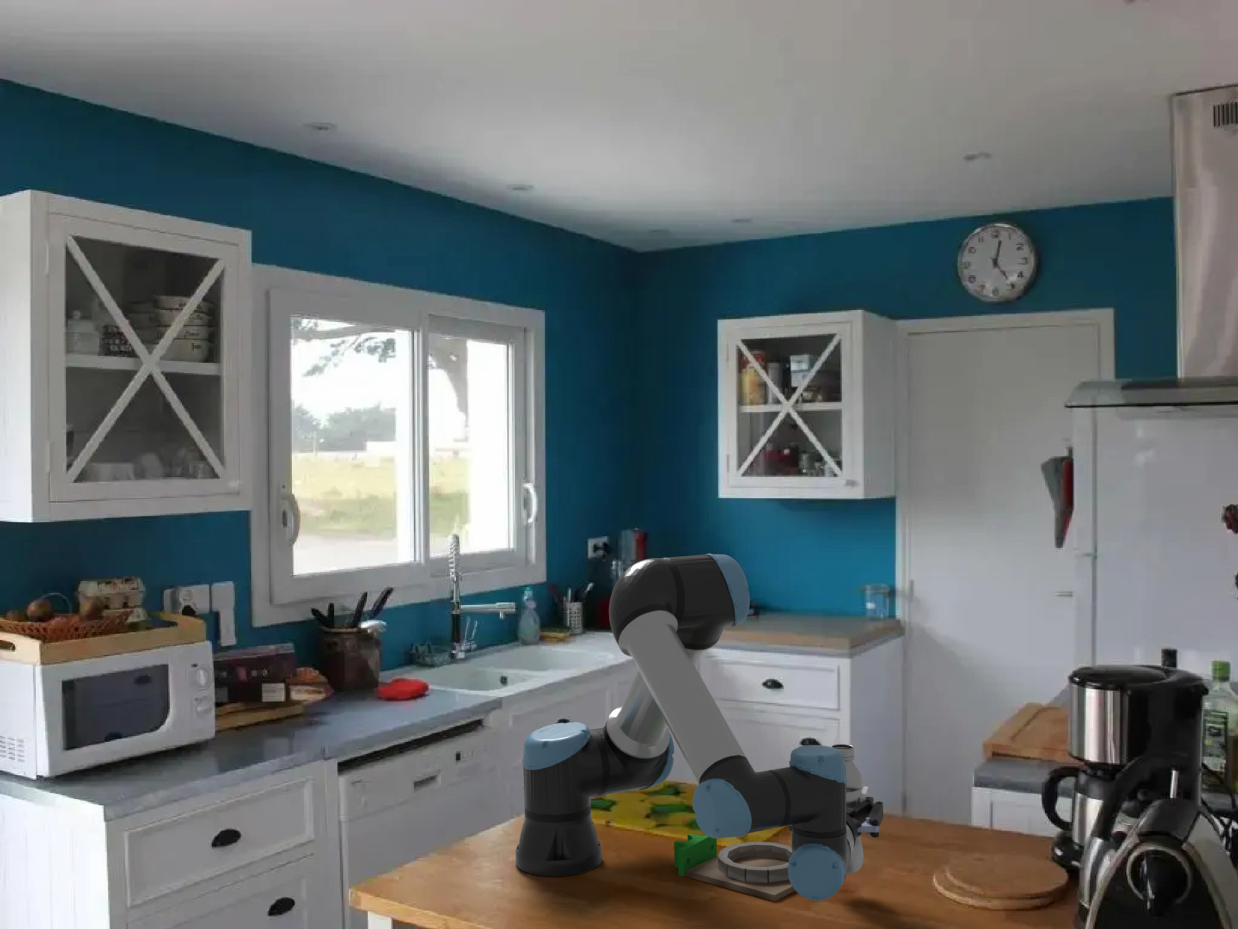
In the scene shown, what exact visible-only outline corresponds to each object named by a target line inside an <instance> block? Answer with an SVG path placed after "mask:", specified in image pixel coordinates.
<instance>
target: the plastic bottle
mask: <svg viewBox="0 0 1238 929" xmlns="http://www.w3.org/2000/svg"><path fill="white" fill-rule="evenodd" d="M830 747H832V748H835V749H837V750H839V751H840V752H841V753H842V754H843V756H844V759H845V766H846V777H847V784H846V809H847V808H848V809H852V808H853V807H855V806H856V805H858V804H859V803H860V797H861V793H862V790H863V782H864V781H863V777H862V774H861V772H860V770H859V768H858V767H857V766H856V765H855V763H854V760H855V759H856V758H855V747H854V746H853V745H851V744H845V743H838V744H837V743H836V744H833V745H831V746H830ZM861 836H862V835H860V836H859V837H857V839H856V842H855V845H854V848H853V851H852V854H851V857H850V861H849V864H848V868H847V871H846V875H847V874H855V873H856V872H858V871H860V870H861V868H862V866H863V862H864V855H865V854H864V849H863V844H862V839H861V838H862V837H861Z"/></svg>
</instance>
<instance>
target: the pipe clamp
mask: <svg viewBox="0 0 1238 929" xmlns="http://www.w3.org/2000/svg"><path fill="white" fill-rule="evenodd" d="M717 840H718V838H711V837H709V836H707V835H706V834H705V833H704V834H703V835H699V834H695V833H693V834H692V833H688V834H687V840H683V841H682V840H681V841H680V840H675V841H674V842H673V847H674V848H673V849H674V850H673V851H674V853H673V854H674V868H678V869H677V870H678V876H681V877H686V870H688V869H690V868H693V867H695V866H697V865H699V864H702V863H704V862H706V861H709V860H711V859H713V858H715V857H718V841H717Z"/></svg>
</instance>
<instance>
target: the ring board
mask: <svg viewBox="0 0 1238 929" xmlns="http://www.w3.org/2000/svg"><path fill="white" fill-rule="evenodd" d="M791 854H792V845H786V844H781V843H779V842H768V841H748V842H742V843H740V842H739V843H734V844H731V845H729V846H726V847H724V848H722V849H721V850H719V853H718V855H717V857H715V858H713V859H711V860H709V861H706V862H704V863H702V864H699V865H697V866H695V867H693V868H690V869H688V870H686V875H685V877H687V878H689V879H693V880H697V881H700V882H704V883H707V884H711V885H715V886H718V887H721V888H726V889H729V890H733V891H737V892H740V893H743V894H747V895H752V896H754V897H758V898H761V899H764V900H768V901H771V902H777V901H778V900H780V899H783V898H784V897H786V896H788V895H790V894H792V893H794V892H797V891H796V890H795V889H794V888H793V886H792V885H791V883H790V880H789V877H788V866H789V865H788V862H789V858H790V855H791Z"/></svg>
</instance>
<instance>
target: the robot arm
mask: <svg viewBox="0 0 1238 929" xmlns="http://www.w3.org/2000/svg"><path fill="white" fill-rule="evenodd" d="M744 572H745V571H743V569H742V567H741V566H740V564H739V563H738V562H737V561H736V560H735V558H733V557H731V556H730V555H727V554H718V553H717V554H713V553H706V554H697V555H688V556H685V555H684V556H683V555H682V556H673V557H662V558H661V557H660V558H657V557H656V558H647V559H643V560H640V561H638V562H636V563H634V564H633V565H631V566H630V567H629V566H628V568H627V569H626V570H625V571H624V572H623V573H622V574H621V575H620V576H619V578H618V580H617V581H616V583H615V584H614V586H613V588H612V592H611V596H610V599H609V603H608V604H609V605H608V617H609V618H608V619H609V624H610V629H611V633H612V635H613V638H614V640H615V641H616V644H617V645H618V647H619V649H620V651H621V652H622V653H623V654H624V655H626V656H628V657H631V658H632V660H633V662H634V663H635V665H636V667H637V672H636V674H635V677H634V679H633V681H632V683H631V686H630V688H629V691H628V692H627V695H626V698H625V699H624V702H623V704H622V706H618V707H617V708H616V709H614V710H613V711H611V713H610V714H609V716H608V718H607V720H606V722H605V725H604V726H603V727H599V728H593V729H589V727H588V725H587V724H585V723H582V722H578V721H577V722H575V721H571V722H570V721H569V722H566V723H564V722H558V723H554V724H548V725H545V726H542V727H539V728H537V729H535V730H534V731H532V732H531V733H529V734H528V735H527V736H526V738H525V740H524V742H523V752H522V754H523V755H522V760H521V762H522V767H523V768H522V770H523V774H522V775H523V789H524V790H523V793H524V794H523V799H524V801H523V802H524V821H523V824H522V827H521V832H520V836H519V843H518V844H517V846H516V848H515V866H516V867H517V868H518V869H519V870H521V871H522V872H525V873H529V874H532V875H536V876H545V877H546V876H547V877H562V876H563V877H564V876H565V877H566V876H571V875H572V876H573V875H578V874H582V873H586V872H589V871H591V870H594V869H595V868H597V867H599V865H601V863H602V861H603V847H602V843H601V842H600V841H599V839H598V838H599V837H598V835H597V834H598V833H597V831H596V826H595V824H594V820H593V818H592V809H591V808H592V803H591V802H592V801H591V800H592V798H595V797H601V796H607V795H612V794H619V793H620V794H621V793H627V792H632V791H643V790H647V789H649V788H652V787H655V786H656V787H657V786H659V785H660V784H662V783H664V782H665V781H666V779H667V778H669V776H670V774H671V772H672V769H673V766H674V762H675V759H674V757H673V755H674V754H675V745H674V740H675V742H676V744H677V746H678V747H679V749H680V752H681V753H682V755H683V758H684V759H685V761H686V763H687V764H688V767H689V768H690V770H691V772H692V774H693V776H694V778H695V780H696V781H697V784H698V785H697V786H696V787H695V790H694V792H693V796H692V809H693V811H694V813H695V819H694V820H695V821H696V823H697V825H698V828H699V829H700V830H701V832H703V833H704V835H705V834H706V835H707V836H709V837H711V838H717V839H726V838H739V837H744V836H745V835H748V834H753V833H756V832H761V831H765V830H771V829H776V828H777V829H778V828H782V827H788V828H789V831H790V832H791V847H792V854H791V855H790V858H789V862H788V865H789V866H788V877H789V880H790V883H791V885H792V886H793V888H794V889H795V890H796V891H795V892H797V893H798V895H800V897H801V896H802V897H803V898H805V899H807V900H811V901H815V902H816V901H818V902H819V901H820V902H821V901H825V900H829V899H830V898H832V897H834V896H835V895H836V894H837V893H838V892H839V890H840V889H841V887H842V886H843V884H844V883H845V880H846V879H847V874H846V871H847V868H848V864H849V861H850V857H851V854H852V851H853V848H854V845H855V842H856V839H857V837H859V836H862V833H865V834H866V835H870V837H872V838H880V826H881V824H882V822H883V820H884V802H883V801H880V800H879V801H876V802H874V801H875V799H874V797H873V796H869V786H865V785H864V786H862V793H861V797H860V803H859V804H858V805H856V806H855V807H853V808H852V809H848V808H847V809H846V784H847V777H846V766H845V759H844V756H843V754H842V753H841V752H840V751H839V750H837V749H835V748H832V747H831V746H829V745H822V744H821V745H820V744H808V745H807V744H806V745H802V746H801V745H800V746H799V747H797V748H794V749H793V750H792V751H791V753H790V758H789V759H790V760H789V761H788V763H789V766H788V767H787V766H786V767H782V768H781V767H779V768H774V769H768V770H763V771H755V769H754V768H753V765H751V763H750V761H749V759H748V757H747V756H746V754H745V752H744V750H743V749H742V747H741V745H740V744H739V741H738V740H737V738H736V736H735V735H734V733H733V731H732V729H731V728H730V726H729V724H728V722H727V720H726V718H725V717H724V715H723V714H722V711H721V710H720V707H719V706H718V704H717V701H715V698H714V697H713V696H712V694H711V692H710V690H709V689H708V686H707V685H706V683H705V681H704V679H703V678H702V676H701V674H700V672H699V670H698V668H697V665H698V662H699V660H700V658H701V656H702V654H703V652H704V651H708V650H710V649H712V648H713V647H714V646H716V644H717V643H718V642H719V640H720V638H721V635H722V634H723V632H724V630H725V628H726V627H729V626H730V627H737V625H741V624H742V623H744V622H745V621H746V619H747V617H748V614H749V610H750V600H751V599H750V598H751V597H750V590H749V584H748V581H747V577H746V575H745V573H744ZM669 730H670V731H669ZM670 732H671V733H670ZM673 738H674V740H673Z"/></svg>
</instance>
